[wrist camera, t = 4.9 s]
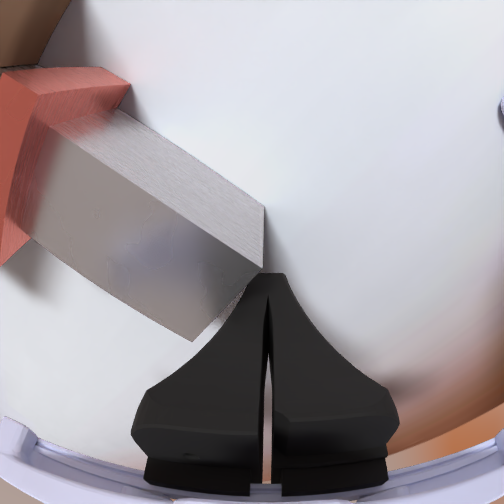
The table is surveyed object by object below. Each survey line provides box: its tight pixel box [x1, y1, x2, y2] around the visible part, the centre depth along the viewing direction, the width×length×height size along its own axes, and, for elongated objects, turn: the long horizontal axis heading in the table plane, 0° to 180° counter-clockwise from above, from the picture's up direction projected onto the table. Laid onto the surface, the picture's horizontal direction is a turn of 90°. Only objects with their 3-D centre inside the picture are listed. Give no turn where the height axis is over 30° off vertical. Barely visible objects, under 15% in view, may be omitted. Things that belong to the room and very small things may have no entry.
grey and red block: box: [0, 64, 264, 342], centre depth 7 cm, size 16×6×5 cm, turn 53°
